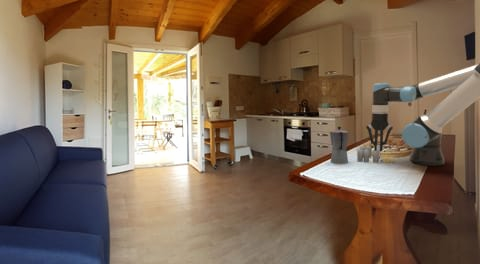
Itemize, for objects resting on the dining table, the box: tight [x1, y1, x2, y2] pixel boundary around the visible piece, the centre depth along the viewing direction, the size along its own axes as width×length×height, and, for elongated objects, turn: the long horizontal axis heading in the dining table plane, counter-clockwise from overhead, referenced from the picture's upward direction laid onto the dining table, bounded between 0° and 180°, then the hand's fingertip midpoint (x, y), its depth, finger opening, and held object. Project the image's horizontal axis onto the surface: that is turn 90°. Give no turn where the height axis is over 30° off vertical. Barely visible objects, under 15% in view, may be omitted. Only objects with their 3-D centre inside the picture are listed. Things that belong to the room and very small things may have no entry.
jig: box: [356, 145, 382, 164], centre depth 159 cm, size 11×12×7 cm
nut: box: [382, 156, 394, 163], centre depth 154 cm, size 5×5×3 cm
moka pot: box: [329, 126, 349, 165], centre depth 156 cm, size 10×15×20 cm, turn 174°
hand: (378, 156), depth 157 cm, fingers closed
